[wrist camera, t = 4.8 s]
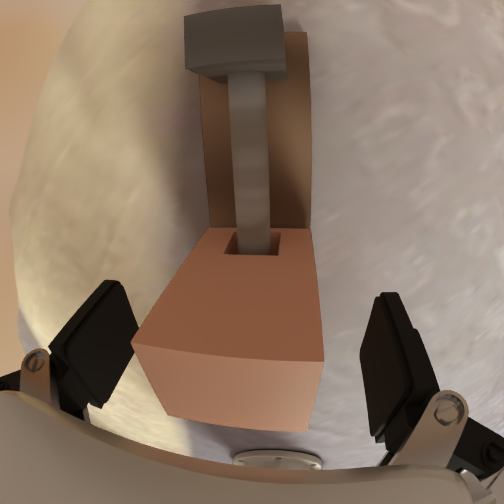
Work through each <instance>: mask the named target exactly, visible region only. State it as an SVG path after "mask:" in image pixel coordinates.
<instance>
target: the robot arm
mask: <svg viewBox="0 0 504 504" xmlns="http://www.w3.org/2000/svg"><path fill="white" fill-rule="evenodd" d="M138 329H139V327H138V324H137V322H136V319H135V317H134V314H133V312H132V309H131V306H130V303H129V301H128V298H127V295H126V292H125V289H124V287H123V286H122V285H121V283H120V282H119V281H116V280H104V281H103V282H102V283H101V284H100V285H99V287H98V288H97V289H96V290H95V291H94V292H93V293H92V294H91V295H90V297H89V298H88V299H87V300H86V301H85V302H84V303H83V305H82V306H81V307H80V308H79V309H78V310H77V311H76V313H75V314H74V315H73V316H72V317H71V319H70V320H69V321H68V322H67V323H66V325H65V326H64V327H63V328H62V329H61V331H60V332H59V333H58V334H57V336H56V337H55V338H54V339H53V341H52V342H51V343H50V345H49V346H48V347H49V349H50V351H51V352H52V353H51V354H50V355H49V353H48V352H47V351H46V350H45V349H35V350H33V351H31V352H30V353H28V354H27V355H26V356H25V358H24V359H23V361H22V365H21V370H18V371H16V372H13V373H10V374H8V375H5V376H2V377H0V504H504V438H503V437H502V436H500V435H499V434H497V433H495V432H494V431H492V430H490V429H488V428H487V427H485V426H483V425H481V424H480V423H478V422H476V421H475V420H473V419H471V418H470V417H468V414H469V410H468V405H467V403H466V400H465V399H464V398H463V397H462V396H461V395H460V394H459V393H457V392H455V391H452V390H443V391H440V389H439V386H438V383H437V380H436V377H435V374H434V371H433V368H432V365H431V362H430V360H429V357H428V354H427V352H426V349H425V347H424V344H423V341H422V339H421V337H420V334H419V332H418V330H417V329H415V328H414V329H413V326H412V324H411V321H410V319H409V317H408V314H407V312H406V310H405V307H404V305H403V303H402V301H401V299H400V296H399V294H398V293H397V292H382V293H381V294H380V296H379V297H376V298H375V300H374V304H373V308H372V311H371V315H370V319H369V322H368V326H367V329H366V332H365V336H364V339H363V342H362V345H361V348H360V363H361V369H362V375H363V381H364V388H365V395H366V403H367V410H368V419H369V428H370V434H371V436H375V441H376V443H382V442H385V446H386V450H388V451H387V452H386V453H385V455H384V456H383V458H382V459H381V460H380V462H379V463H378V464H377V465H376V467H363V468H351V469H334V470H321V469H322V461H321V460H320V459H319V458H317V457H315V456H313V455H309V454H305V453H300V452H293V451H283V450H254V451H247V452H242V453H239V454H237V455H236V456H234V458H233V462H232V464H225V463H219V462H213V461H208V460H203V459H198V458H193V457H188V456H184V455H180V454H176V453H172V452H168V451H165V450H161V449H158V448H154V447H151V446H148V445H144V444H141V443H138V442H135V441H132V440H130V439H127V438H124V437H121V436H118V435H116V434H113V433H111V432H108V431H106V430H103V429H101V428H98V427H96V426H94V425H92V424H91V422H90V418H89V413H88V408H87V404H88V403H90V404H91V405H93V406H95V407H98V408H100V409H101V408H102V407H103V405H104V403H106V402H108V400H109V398H110V396H111V394H112V393H113V391H114V389H115V387H116V385H117V383H118V381H119V379H120V378H121V376H122V374H123V372H124V370H125V369H126V367H127V365H128V363H129V361H130V360H131V358H132V356H133V354H134V352H135V351H134V349H133V347H132V344H131V340H132V339H133V337H134V336H135V334H136V333H137V331H138Z"/></svg>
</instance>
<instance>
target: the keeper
mask: <svg viewBox="0 0 504 504" xmlns="http://www.w3.org/2000/svg"><path fill="white" fill-rule="evenodd" d="M270 244H271V256H269V255H239V252H238V238H237V228H208V229H207V231H206V232H205V233H204V235H203V236H202V237H201V239H200V240H199V242H198V243H197V244H196V246H195V247H194V248H193V250H192V251H191V253H190V254H189V255H188V257H187V258H186V260H185V261H184V263H183V264H182V265H181V267H180V268H179V270H178V271H177V273H176V274H175V275H174V277H173V278H172V280H171V281H170V283H169V284H168V286H167V287H166V289H165V290H164V292H163V293H162V295H161V296H160V298H159V299H158V300H157V302H156V303H155V305H154V307H153V308H152V310H151V311H150V313H149V314H148V316H147V317H146V319H145V320H144V322H143V323H142V325H141V326H140V328H139V329H138V331H137V333H136V334H135V336H134V337H133V339H132V340H131V344H132V347H133V349H134V351H135V353H136V355H137V358H138V360H139V362H140V364H141V366H142V368H143V370H144V372H145V374H146V376H147V378H148V380H149V382H150V384H151V386H152V388H153V390H154V392H155V393H156V395H157V397H158V399H159V401H160V402H161V404H162V406H163V408H164V410H165V411H166V413H167V415H170V416H174V417H178V418H183V419H188V420H193V421H198V422H204V423H209V424H216V425H222V426H229V427H237V428H246V429H256V430H269V431H288V432H307V429H308V425H309V422H310V418H311V415H312V411H313V407H314V403H315V399H316V395H317V391H318V387H319V383H320V379H321V374H322V370H323V365H324V349H323V336H322V324H321V312H320V302H319V292H318V283H317V274H316V266H315V258H314V250H313V242H312V235H311V229H292V228H270Z"/></svg>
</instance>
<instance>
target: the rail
mask: <svg viewBox="0 0 504 504" xmlns="http://www.w3.org/2000/svg"><path fill="white" fill-rule="evenodd" d="M184 40H185V69H188V70H190V71H193V72H195V73H197V74H199V83H200V102H201V118H202V133H203V146H204V158H205V170H206V181H207V192H208V202H209V212H210V222H211V228H237V238H238V252H239V255H269V256H271V244H270V228H292V229H310V217H311V175H312V135H311V95H310V73H309V56H308V43H307V32H284V28H283V20H282V11H281V4H280V5H258V6H245V7H236V8H228V9H221V10H214V11H208V12H203V13H198V14H193V15H188V16H184Z"/></svg>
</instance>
